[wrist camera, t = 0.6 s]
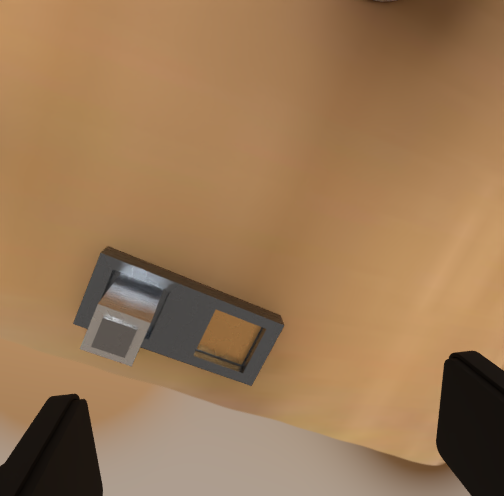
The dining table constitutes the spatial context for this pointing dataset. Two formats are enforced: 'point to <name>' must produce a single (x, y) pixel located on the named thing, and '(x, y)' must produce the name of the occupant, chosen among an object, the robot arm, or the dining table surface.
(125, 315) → the block
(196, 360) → the rail
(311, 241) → the dining table surface
